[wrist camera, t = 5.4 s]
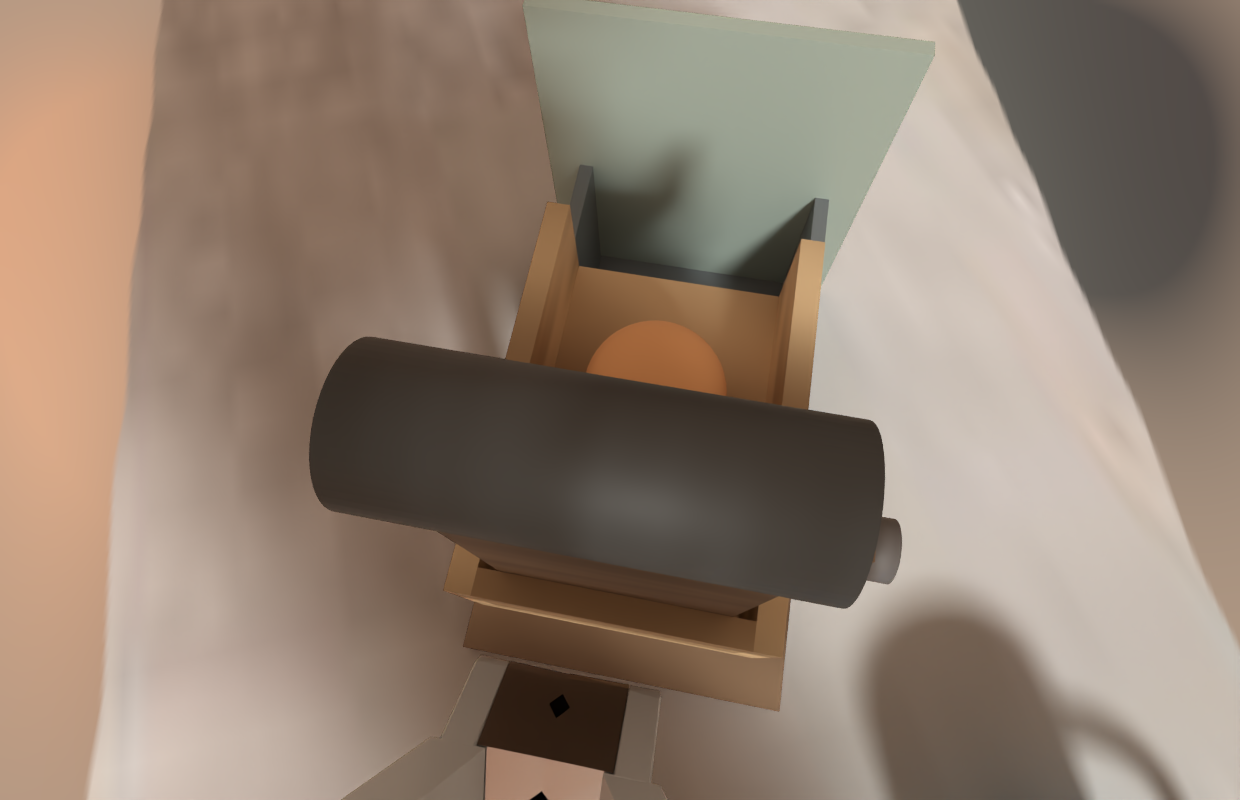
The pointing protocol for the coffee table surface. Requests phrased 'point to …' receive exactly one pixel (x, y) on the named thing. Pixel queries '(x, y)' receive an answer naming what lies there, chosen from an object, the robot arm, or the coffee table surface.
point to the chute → (617, 459)
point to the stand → (652, 646)
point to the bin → (713, 135)
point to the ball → (660, 357)
